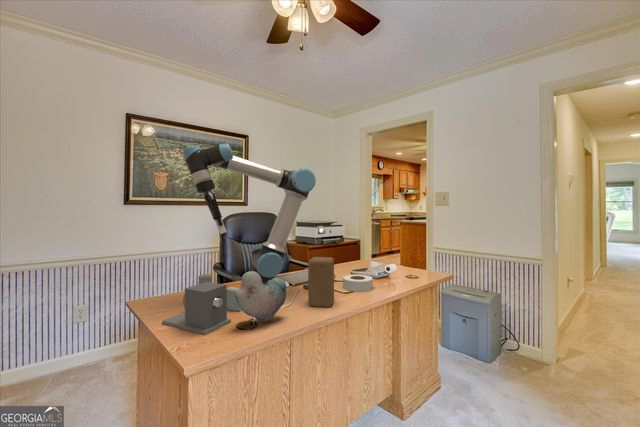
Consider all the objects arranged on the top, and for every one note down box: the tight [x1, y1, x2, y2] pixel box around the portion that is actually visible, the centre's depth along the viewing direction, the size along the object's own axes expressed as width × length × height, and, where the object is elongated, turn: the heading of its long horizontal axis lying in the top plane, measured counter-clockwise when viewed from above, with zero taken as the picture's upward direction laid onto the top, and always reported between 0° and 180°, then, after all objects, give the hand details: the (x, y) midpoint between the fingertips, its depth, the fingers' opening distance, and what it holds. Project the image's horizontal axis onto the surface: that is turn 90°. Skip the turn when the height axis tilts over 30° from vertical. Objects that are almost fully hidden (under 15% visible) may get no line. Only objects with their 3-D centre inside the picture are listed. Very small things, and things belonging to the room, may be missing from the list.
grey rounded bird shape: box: [235, 270, 287, 323], centre depth 110 cm, size 21×9×20 cm, turn 130°
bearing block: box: [161, 282, 232, 336], centre depth 110 cm, size 22×12×14 cm, turn 64°
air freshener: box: [198, 273, 213, 284], centre depth 143 cm, size 11×8×10 cm
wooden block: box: [307, 256, 335, 308], centre depth 131 cm, size 10×10×20 cm
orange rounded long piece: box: [182, 293, 223, 307], centre depth 108 cm, size 14×8×8 cm, turn 64°
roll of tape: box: [342, 274, 374, 293], centre depth 156 cm, size 16×16×6 cm
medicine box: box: [226, 286, 243, 312], centre depth 124 cm, size 8×4×9 cm, turn 71°
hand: (223, 233), depth 128 cm, fingers closed
